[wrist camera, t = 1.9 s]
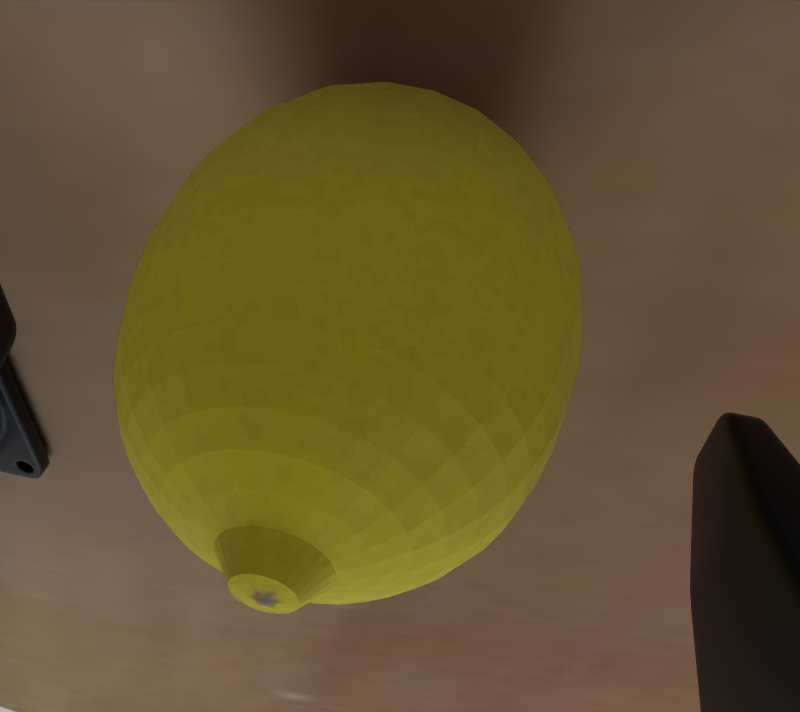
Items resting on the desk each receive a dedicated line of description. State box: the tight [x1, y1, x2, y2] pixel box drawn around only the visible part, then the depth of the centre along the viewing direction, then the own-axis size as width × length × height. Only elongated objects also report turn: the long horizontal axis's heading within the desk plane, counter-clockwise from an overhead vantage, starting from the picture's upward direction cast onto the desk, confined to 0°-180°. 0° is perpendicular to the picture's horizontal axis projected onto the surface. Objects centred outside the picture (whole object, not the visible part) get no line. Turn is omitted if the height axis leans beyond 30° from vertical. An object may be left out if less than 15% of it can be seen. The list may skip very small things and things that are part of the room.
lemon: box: [113, 82, 583, 614], centre depth 9 cm, size 6×6×8 cm
